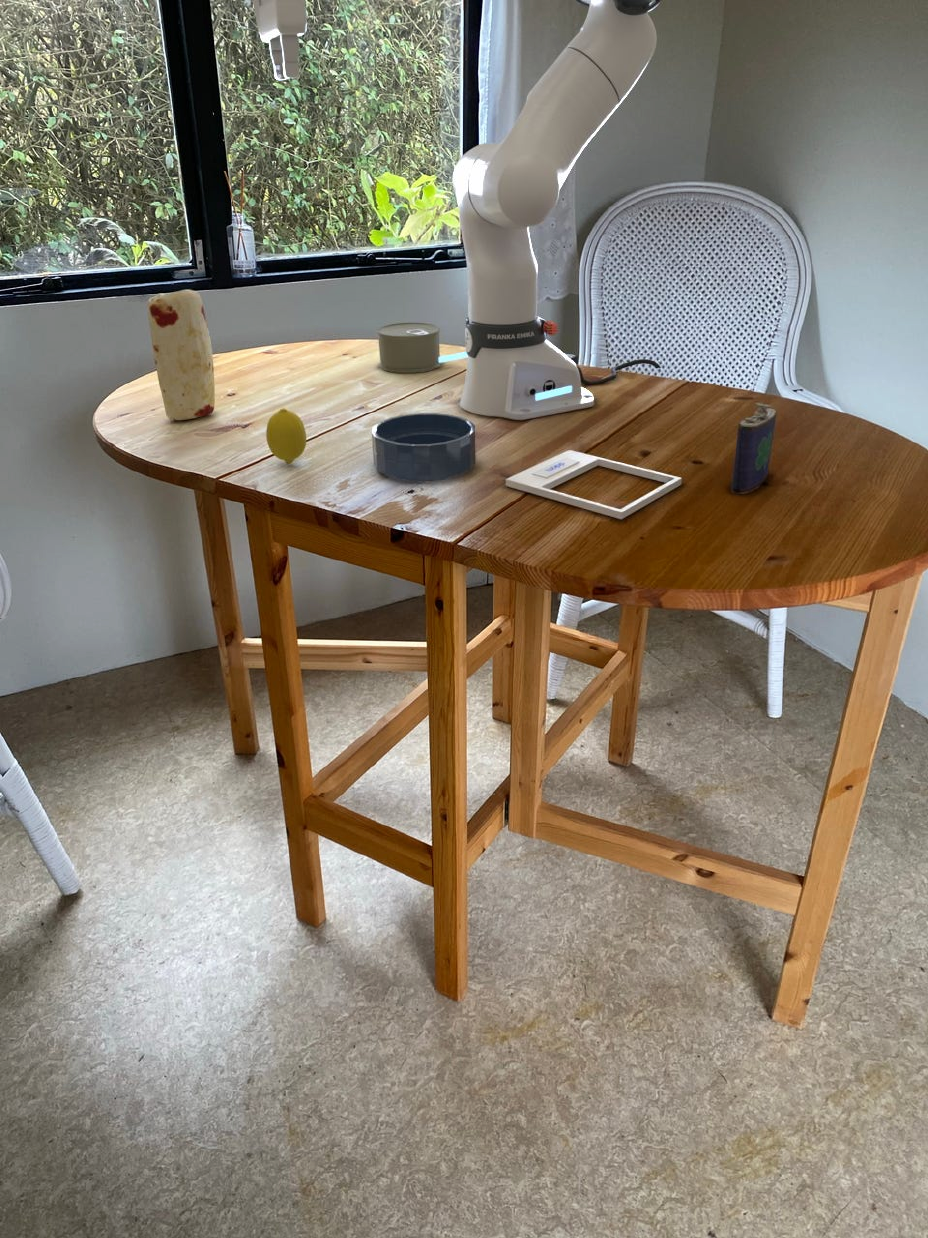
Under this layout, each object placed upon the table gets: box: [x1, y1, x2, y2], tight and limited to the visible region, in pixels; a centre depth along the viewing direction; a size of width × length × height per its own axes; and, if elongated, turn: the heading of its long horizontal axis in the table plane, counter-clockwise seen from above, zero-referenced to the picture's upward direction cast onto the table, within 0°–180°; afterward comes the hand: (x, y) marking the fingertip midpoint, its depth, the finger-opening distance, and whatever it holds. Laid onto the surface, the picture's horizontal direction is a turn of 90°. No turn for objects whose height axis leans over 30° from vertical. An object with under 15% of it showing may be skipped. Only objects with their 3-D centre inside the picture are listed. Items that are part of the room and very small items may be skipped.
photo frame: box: [505, 449, 683, 520], centre depth 122 cm, size 15×1×18 cm
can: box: [376, 322, 441, 374], centre depth 177 cm, size 12×12×7 cm
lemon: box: [265, 407, 307, 464], centre depth 130 cm, size 6×6×8 cm
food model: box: [147, 289, 216, 421], centre depth 147 cm, size 10×7×20 cm
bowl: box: [371, 412, 476, 482], centre depth 128 cm, size 14×14×6 cm
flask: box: [730, 402, 777, 495], centre depth 119 cm, size 9×3×11 cm, turn 144°
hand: (287, 78), depth 123 cm, fingers open, 8 cm apart
